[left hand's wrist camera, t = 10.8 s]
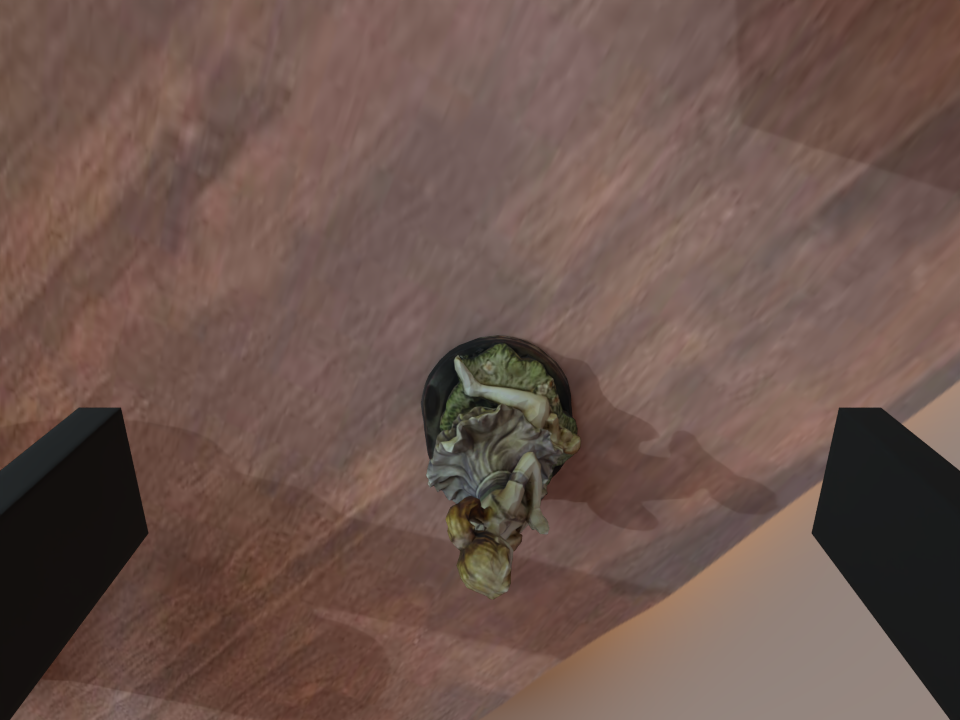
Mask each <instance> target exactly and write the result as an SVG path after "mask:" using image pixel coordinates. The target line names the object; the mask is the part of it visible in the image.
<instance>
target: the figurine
mask: <svg viewBox="0 0 960 720" xmlns="http://www.w3.org/2000/svg"><path fill="white" fill-rule="evenodd" d="M421 407H422V415H423V420H424V430H425V437H426V444H427V451H428V455H429V459H430V461H429V465H428V470H427V475H426V476H427V477H428V479H429V482H428V485H429V486H430V487H432V486H435V488H436V490H437V492H439V491H440V490H442V491H443V492H444V494H445V496H446V497H447V499H448V500H453V501H454V502H455V503H456V504H455V505H453V506H452V507H450V509H449V512H448V514H447V517H446V522H447V525H448V535H449V538H450V540H451V542H452V543H453V544H454V545H455V547H456V548H458V549H459V550H460V557H459V560H458V563H457V568H458V571H459V574H460V578H461V580H462V581H463V582H464V584H465V585H466V587H467V588H469V589H471V590H473V591H476V592H478V593H480V594H483V595H486V596H487V597H488V598H489V599H495V598H497V597H498V596H500V595H502V594H504V593H505V592H507V591H508V589H509V586H510V584H511V564H512V559H513V551H515V550H516V549H517V547H518V546H519V544H520V543H521V542H522V535H521V534H520V533H521V532H522V531H523V530H524V529H525V528H526V527H527V526H528V524H529V526H530V527H531V529H532V530H534V529H536V530H537V531H538V532H539V533H540V534H548V531H549V526H548V522H547V520H546V518H545V517H544V516H543V515H542V513H541V510H540V504H541V500H542V499H543V498H544V495H547V485H548V484H549V482H550V480H551V478H552V477H553V476H554V475H555V474H556V473H557V472H558V471H559V470H560V469H561V467H562V466H563V464H564V462H565V461H566V460H568V459H569V458H570V457H572V456H573V455H574V454H575V453H577V452H578V450H579V449H580V445H581V440H580V437H579V436H578V435H577V425H576V421H575V419H574V418H572V407H571V394H570V389H569V385H568V381H567V378H566V376H565V374H564V373H563V371H562V369H561V368H560V367H559V366H558V364H557V363H556V362H555V361H554V360H553V359H551V358H550V357H549V356H548V355H547V354H546V353H544V352H543V351H542V350H541V349H539V348H538V347H536V346H534V345H532V344H530V343H528V342H525V341H523V340H520V339H516V338H512V337H506V336H498V335H497V336H490V337H481V338H477V339H475V340H472V341H469V342H467V343H464V344H461V345H459V346H457V347H456V348H454V349H452V350H451V351H449V352H448V353H447V354H446V355H445V356H444V357H443V358H442V359H441V360H440V361H439V362H438V364H437V365H436V366H435V367H434V369H433V370H432V372H431V373H430V374H429V376H428V378H427V381H426V384H425V387H424V391H423V396H422V401H421Z"/></svg>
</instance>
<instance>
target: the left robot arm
mask: <svg viewBox="0 0 960 720" xmlns="http://www.w3.org/2000/svg"><path fill="white" fill-rule="evenodd" d="M147 534H148V529H147V525H146V520H145V515H144V511H143V506H142V502H141V497H140V493H139V488H138V483H137V479H136V474H135V470H134V465H133V461H132V456H131V451H130V447H129V442H128V438H127V433H126V429H125V424H124V419H123V415H122V410H121V408H78V409H77V410H75V411H74V412H73V413H72V414H71V415H69V416H68V417H67V418H66V419H64V420H63V421H62V422H61V423H59V424H58V425H57V426H56V427H54V428H53V429H52V430H51V431H49V432H48V433H47V434H46V435H44V436H43V437H42V438H41V439H39V440H38V441H37V442H36V443H34V444H33V445H32V446H31V447H29V448H28V449H27V450H26V451H24V452H23V453H22V454H21V455H19V456H18V457H17V458H16V459H14V460H13V461H12V462H11V463H9V464H8V465H7V466H6V467H4V468H3V469H2V470H1V471H0V720H10V719H11V718H12V716H13V715H14V714H15V712H16V711H17V710H18V708H19V707H20V706H21V704H22V703H23V701H24V700H25V699H26V697H27V696H28V695H29V693H30V692H31V691H32V689H33V688H34V687H35V685H36V684H37V683H38V681H39V680H40V679H41V677H42V676H43V675H44V673H45V672H46V671H47V669H48V668H49V666H50V665H51V664H52V662H53V661H54V660H55V658H56V657H57V656H58V654H59V653H60V652H61V650H62V649H63V648H64V646H65V645H66V644H67V642H68V641H69V640H70V638H71V637H72V635H73V634H74V633H75V631H76V630H77V629H78V627H79V626H80V625H81V623H82V622H83V621H84V619H85V618H86V617H87V615H88V614H89V613H90V611H91V610H92V609H93V607H94V606H95V605H96V603H97V602H98V600H99V599H100V598H101V596H102V595H103V594H104V592H105V591H106V590H107V588H108V587H109V586H110V584H111V583H112V582H113V580H114V579H115V578H116V576H117V575H118V574H119V572H120V571H121V570H122V568H123V567H124V565H125V564H126V563H127V561H128V560H129V559H130V557H131V556H132V555H133V553H134V552H135V551H136V549H137V548H138V547H139V545H140V544H141V543H142V541H143V540H144V539H145V537H146V536H147ZM812 534H813V536H814V537H815V539H816V540H817V541H818V543H819V544H820V545H821V547H822V548H823V549H824V551H825V552H826V553H827V555H828V556H829V557H830V559H831V560H832V561H833V563H834V564H835V565H836V567H837V568H838V569H839V571H840V572H841V574H842V575H843V576H844V578H845V579H846V580H847V582H848V583H849V584H850V586H851V587H852V588H853V590H854V591H855V592H856V594H857V595H858V596H859V598H860V599H861V600H862V602H863V603H864V605H865V606H866V607H867V609H868V610H869V611H870V613H871V614H872V615H873V617H874V618H875V619H876V621H877V622H878V623H879V625H880V626H881V627H882V629H883V630H884V631H885V633H886V634H887V635H888V637H889V638H890V640H891V641H892V642H893V644H894V645H895V646H896V648H897V649H898V650H899V652H900V653H901V654H902V656H903V657H904V658H905V660H906V661H907V662H908V664H909V665H910V666H911V668H912V669H913V670H914V672H915V673H916V675H917V676H918V677H919V679H920V680H921V681H922V683H923V684H924V685H925V687H926V688H927V689H928V691H929V692H930V693H931V695H932V696H933V697H934V699H935V700H936V701H937V703H938V704H939V706H940V707H941V708H942V710H943V711H944V712H945V714H946V715H947V716H948V718H949V719H950V720H960V471H959V470H958V469H957V468H956V467H954V466H953V465H952V464H951V463H949V462H948V461H947V460H946V459H944V458H943V457H942V456H941V455H939V454H938V453H937V452H936V451H934V450H933V449H932V448H931V447H929V446H928V445H927V444H926V443H924V442H923V441H922V440H921V439H919V438H918V437H917V436H916V435H914V434H913V433H912V432H911V431H909V430H908V429H907V428H906V427H904V426H903V425H902V424H901V423H899V422H898V421H897V420H896V419H894V418H893V417H892V416H891V415H889V414H888V413H887V412H886V411H884V410H883V409H882V408H839V410H838V415H837V419H836V424H835V429H834V433H833V438H832V442H831V447H830V451H829V456H828V461H827V465H826V470H825V474H824V479H823V483H822V488H821V493H820V497H819V502H818V506H817V511H816V516H815V520H814V525H813V529H812Z"/></svg>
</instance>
